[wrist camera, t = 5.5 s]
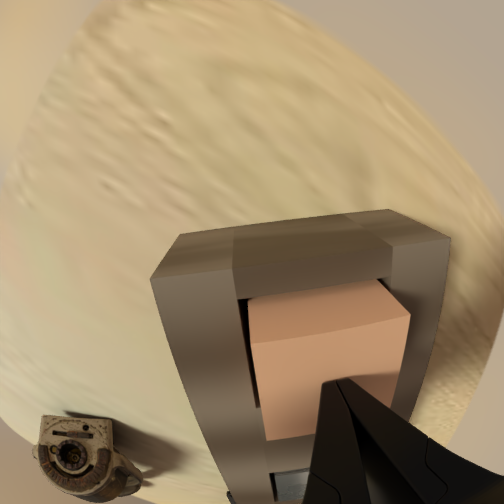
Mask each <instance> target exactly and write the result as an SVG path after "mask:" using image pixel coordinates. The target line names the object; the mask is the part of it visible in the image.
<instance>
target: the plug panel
mask: <svg viewBox="0 0 504 504" xmlns="http://www.w3.org/2000/svg"><path fill="white" fill-rule="evenodd" d="M450 241H451V238H450V237H448V236H446V235H444V234H442V233H440V232H438V231H436V230H433V229H431V228H429V227H427V226H425V225H423V224H421V223H419V222H416V221H414V220H412V219H410V218H408V217H405V216H403V215H401V214H399V213H396V212H394V211H392V210H389V209H385V210H375V211H365V212H355V213H345V214H336V215H327V216H318V217H309V218H300V219H292V220H284V221H275V222H267V223H259V224H252V225H244V226H236V227H229V228H221V229H214V230H207V231H200V232H193V233H186V234H180V235H179V236H178V238H177V239H176V241H175V242H174V243H173V245H172V246H171V248H170V249H169V251H168V252H167V254H166V255H165V257H164V258H163V260H162V261H161V262H160V264H159V265H158V267H157V268H156V270H155V271H154V273H153V275H152V276H151V278H150V282H151V286H152V289H153V293H154V297H155V300H156V304H157V307H158V311H159V314H160V317H161V321H162V324H163V327H164V331H165V334H166V337H167V340H168V343H169V346H170V349H171V352H172V355H173V358H174V361H175V364H176V367H177V370H178V372H179V375H180V378H181V381H182V384H183V386H184V389H185V392H186V394H187V397H188V399H189V402H190V405H191V407H192V410H193V412H194V415H195V417H196V419H197V422H198V424H199V427H200V429H201V431H202V434H203V436H204V438H205V441H206V443H207V445H208V447H209V450H210V452H211V454H212V456H213V458H214V460H215V463H216V465H217V467H218V469H219V471H220V473H221V475H222V477H223V479H224V481H225V483H226V485H227V487H228V489H229V491H230V493H231V495H232V497H233V499H234V501H235V502H236V504H297V503H302V500H303V498H302V499H296V500H289V501H282V502H279V499H278V493H277V487H276V481H275V475H274V472H282V471H289V470H296V469H302V468H308V467H310V463H311V457H312V451H313V445H314V438H315V434H309V435H304V436H298V437H291V438H285V439H277V440H269V441H267V440H266V434H265V428H264V422H263V416H262V411H261V405H260V399H259V393H258V387H257V380H256V374H255V368H254V362H253V356H252V349H251V342H250V330H249V324H248V317H247V311H246V304H245V298H253V297H261V296H268V295H276V294H283V293H290V292H297V291H304V290H310V289H317V288H324V287H330V286H336V285H342V284H348V283H354V282H360V281H366V280H372V279H377V280H378V281H379V282H380V283H381V284H382V285H383V286H384V287H385V288H386V289H387V290H388V291H389V292H390V293H391V294H392V295H393V297H394V298H395V299H396V300H397V301H398V302H399V303H400V304H401V305H402V306H403V307H404V308H405V309H406V310H407V311H408V312H409V313H410V314H411V316H410V322H409V328H408V334H407V339H406V344H405V349H404V354H403V359H402V363H401V368H400V372H399V376H398V380H397V384H396V388H395V392H394V396H393V399H392V403H391V406H390V409H391V410H392V411H394V412H395V413H397V414H398V415H399V416H401V417H402V418H403V419H405V420H406V421H407V422H409V419H410V417H411V414H412V411H413V409H414V406H415V403H416V400H417V397H418V394H419V391H420V388H421V385H422V382H423V379H424V376H425V373H426V369H427V366H428V362H429V359H430V355H431V351H432V347H433V343H434V339H435V335H436V331H437V326H438V322H439V317H440V312H441V307H442V301H443V296H444V290H445V283H446V276H447V269H448V261H449V252H450Z"/></svg>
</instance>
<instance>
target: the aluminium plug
mask: <svg viewBox="0 0 504 504" xmlns="http://www.w3.org/2000/svg"><path fill="white" fill-rule="evenodd" d="M309 469H310V467H308V468H302V469H296V470H289V471H282V472H274V475H275V481H276V487H277V493H278V499H279V502H282V501H289V500H296V499H302V498H303V497H304V493H305V488H306V484H307V479H308V474H309Z"/></svg>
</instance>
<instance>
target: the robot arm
mask: <svg viewBox="0 0 504 504" xmlns="http://www.w3.org/2000/svg"><path fill="white" fill-rule="evenodd" d="M227 497H228V499H229V501H230V503H231V504H236V502H235V501H234V499H233V497H232V495H231V493H230V491H227ZM301 504H504V476H502V475H499V474H496V473H493V472H491V471H489V470H487V469H485V468H482V467H480V466H478V465H476V464H474V463H472V462H470V461H468V460H466V459H464V458H462V457H460V456H458V455H456V454H455V453H453V452H451V451H449V450H448V449H446V448H445V447H443V446H442V445H440V444H439V443H437V442H436V441H434V440H433V439H431V438H428V436H427V435H426V434H424V433H423V432H421V431H420V430H419V429H417V428H416V427H414V426H413V425H412V424H410V423H409V422H407V421H406V420H405V419H403V418H402V417H401V416H399V415H398V414H397V413H395V412H394V411H392V410H391V409H390V408H388V407H387V406H386V405H384V404H383V403H382V402H380V401H379V400H378V399H376V398H375V397H374V396H372V395H371V394H370V393H368V392H367V391H366V390H364V389H363V388H362V387H360V386H359V385H358V384H357V383H355V382H354V381H353V380H351V379H350V378H344V379H339V380H336V381H329V382H324V383H322V385H321V392H320V401H319V409H318V417H317V424H316V431H315V438H314V445H313V451H312V457H311V463H310V469H309V474H308V479H307V484H306V488H305V493H304V497H303V500H302V503H301Z"/></svg>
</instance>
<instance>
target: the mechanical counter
mask: <svg viewBox="0 0 504 504" xmlns="http://www.w3.org/2000/svg"><path fill="white" fill-rule="evenodd" d="M32 454H33V456H34V458H36V459H37V460H38V463H39V467H40V469H41V471H42V473H43V475H44V476H45V477H46V479H47V480H48V481H49V482H50V483H51V484H52V485H53V486H55V487H56V488H57V489H59V490H61V491H63V492H64V493H67V494H70V495H73V496H76V497H78V498H80V499H83V500H86V501H89V502H95V503H103V502H107V501H110V500H113V499H114V498H116V497H123V496H127V495H131V494H133V493H135V492H137V491H138V490H139V489H140V487H141V485H140V483H142V482H143V475H142V473H141V471H140V470H139V469H138V468H136V467H135V466H134V465H133V464H132V463H131V462H130V461H129V460H128V459H127V458H126V457H125V456H124V455H122V454H120V452H119V451H118V450H117V449H116V448H115V447H114V446H113V431H112V420H110V419H90V418H72V417H62V416H51V415H43V416H42V418H41V426H40V435H39V441H38V444H37V445H34V446H33V450H32ZM128 473H129V474H130V475H132V476H131V477H128Z"/></svg>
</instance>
